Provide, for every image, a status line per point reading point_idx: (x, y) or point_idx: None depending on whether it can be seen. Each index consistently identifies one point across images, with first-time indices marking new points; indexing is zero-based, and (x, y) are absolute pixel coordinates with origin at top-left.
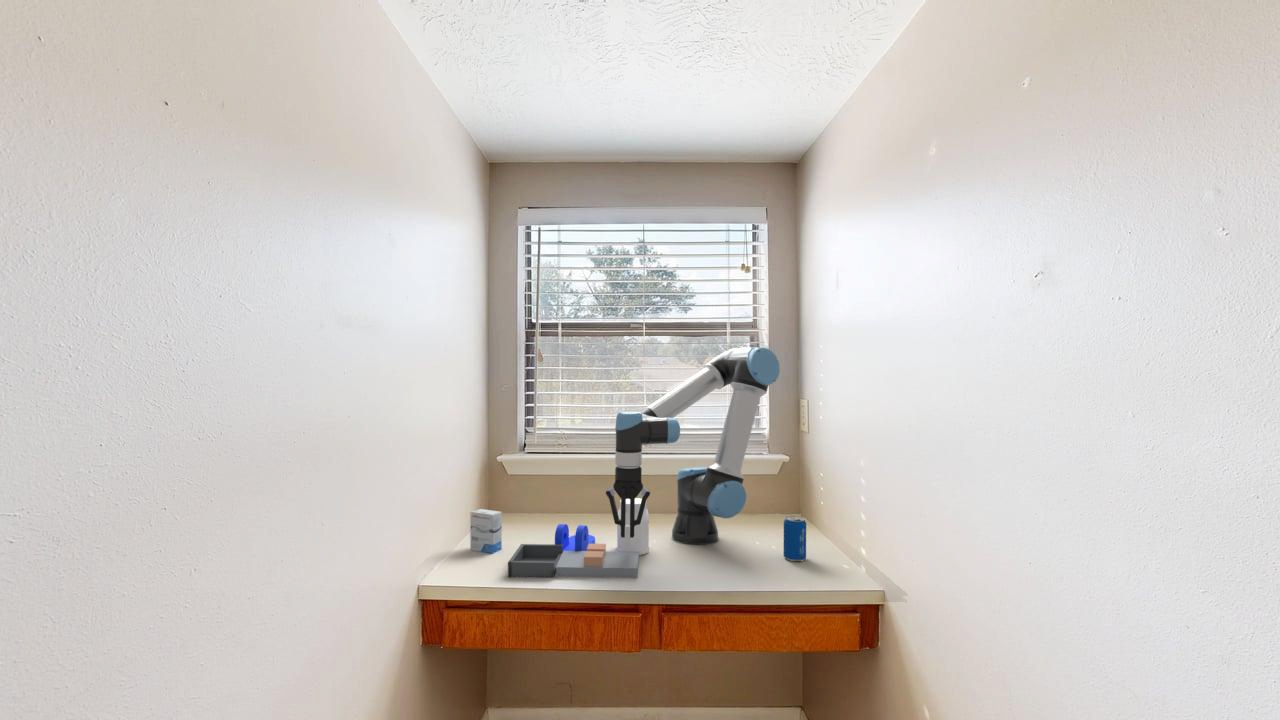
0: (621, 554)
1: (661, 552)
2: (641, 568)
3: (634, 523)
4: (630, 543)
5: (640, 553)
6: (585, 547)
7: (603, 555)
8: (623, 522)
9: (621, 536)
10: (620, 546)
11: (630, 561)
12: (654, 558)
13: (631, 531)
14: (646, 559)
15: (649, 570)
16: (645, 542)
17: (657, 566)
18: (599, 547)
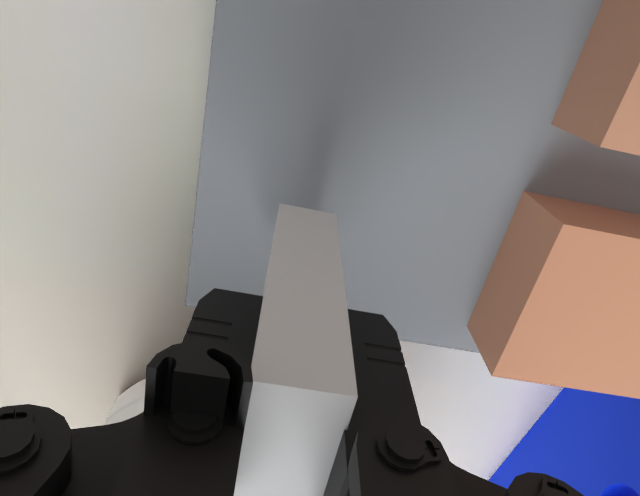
0: (347, 260)
1: (25, 392)
2: (191, 79)
3: (129, 459)
4: None
5: None
6: (572, 449)
7: (619, 70)
8: (398, 493)
9: (384, 323)
10: None
11: (294, 42)
12: (75, 290)
13: (229, 347)
14: (138, 279)
15: (119, 9)
16: None
17: (45, 107)
18: (593, 284)
